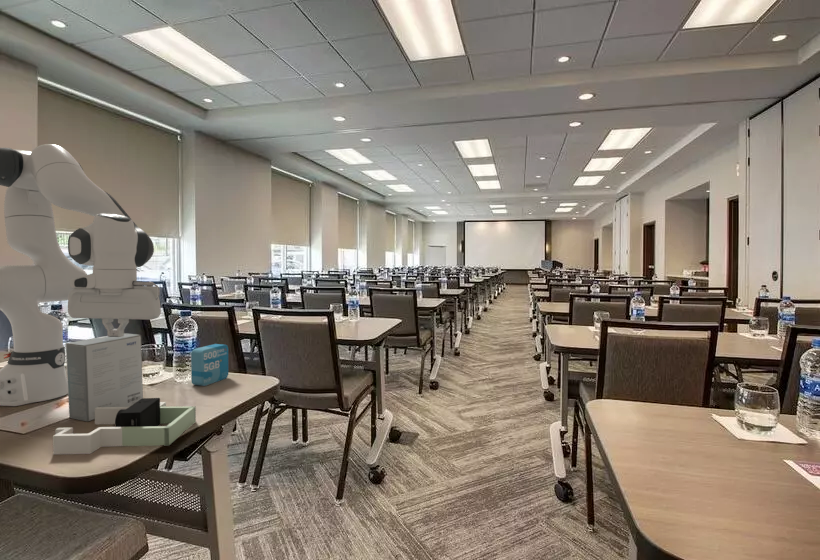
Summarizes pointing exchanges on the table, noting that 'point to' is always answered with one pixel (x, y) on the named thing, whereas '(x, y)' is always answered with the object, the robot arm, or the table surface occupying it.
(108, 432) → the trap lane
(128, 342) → the hard drive box
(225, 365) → the data package
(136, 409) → the digital camera
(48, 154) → the robot arm
